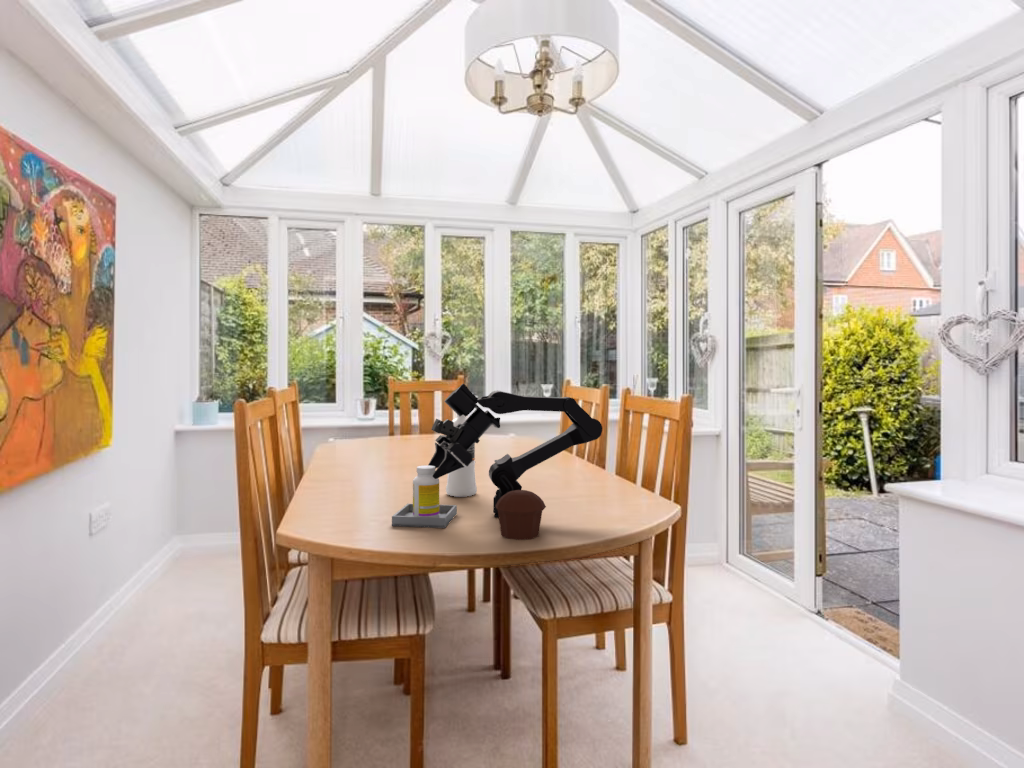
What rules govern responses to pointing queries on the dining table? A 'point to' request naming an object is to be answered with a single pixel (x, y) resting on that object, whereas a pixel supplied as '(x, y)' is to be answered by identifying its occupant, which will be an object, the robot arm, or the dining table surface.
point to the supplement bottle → (425, 493)
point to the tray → (408, 520)
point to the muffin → (520, 514)
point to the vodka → (462, 473)
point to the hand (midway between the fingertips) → (430, 474)
